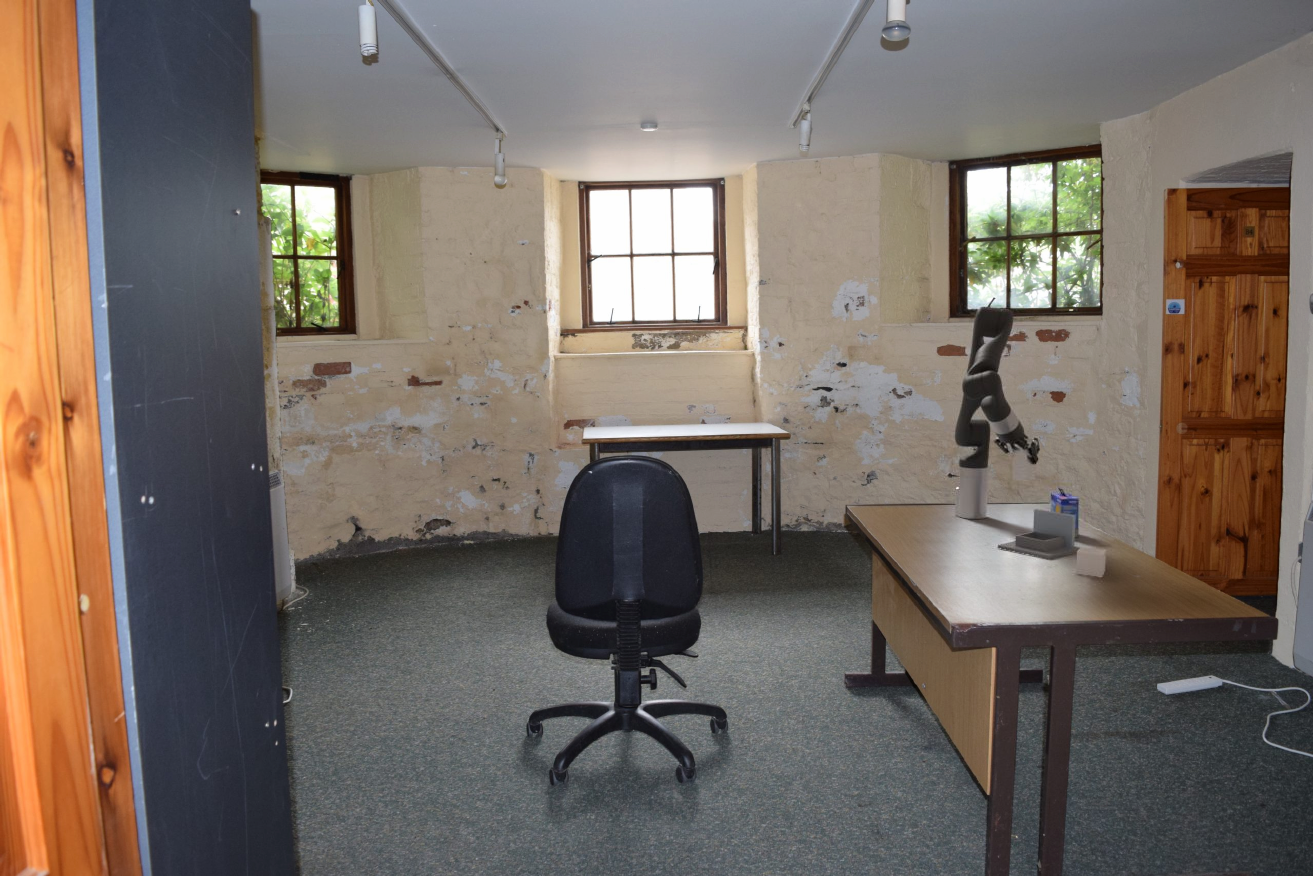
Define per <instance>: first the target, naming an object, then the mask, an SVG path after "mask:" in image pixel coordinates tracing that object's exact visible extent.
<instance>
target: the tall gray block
mask: <svg viewBox="0 0 1313 876" xmlns="http://www.w3.org/2000/svg"><path fill="white" fill-rule="evenodd" d="M1028 451H1029V452H1030V449H1029V450H1028ZM1035 479H1036V465H1035V464H1032V462H1031V460H1030V459H1029V456H1028V455H1027V454H1026V453H1023V452H1022V451H1021V450H1020V449H1018V448H1016V449H1014V457H1013V465H1012V481H1015V482H1017V481H1018V482H1025V483H1028V482H1035V481H1036V480H1035Z"/></svg>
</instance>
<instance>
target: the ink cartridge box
mask: <svg viewBox="0 0 1313 876" xmlns="http://www.w3.org/2000/svg"><path fill="white" fill-rule="evenodd" d="M1057 489H1058V491H1059V492H1051V493H1050V511H1051V512H1057V513H1063V514H1069V515H1075V516H1076V521H1075V537H1077V538H1079V532H1080V531H1079V522H1080V521H1079V519H1080V518H1079V516H1080V515H1079V514H1080V513H1079V510H1080V507H1079V506H1080V505H1079V503H1080V500H1079V498H1078V497H1077V496H1074V495H1072V494H1071V493H1068V492H1065V491H1064V489H1062V488H1060V487H1057Z"/></svg>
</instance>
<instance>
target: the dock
mask: <svg viewBox="0 0 1313 876" xmlns="http://www.w3.org/2000/svg"><path fill="white" fill-rule="evenodd" d="M1075 521H1076V516H1075V515H1069V514H1063V513H1057V512H1051V510H1045V509H1039V508H1037V509H1033V524H1032V525H1033V527H1032V531H1029V532H1025V533H1021V534H1016V535H1015V540H1014V541H1010V542H1006V543H1001V544H998V545H997V549H998V548H1001V549H1000V550H1002V549H1006V550H1005V551H1007V550H1010V551H1009V552H1012V551H1015V552H1014V553H1016V552H1019V553H1018V554H1021V553H1024V554H1023V555H1025V554H1029V555H1028V556H1030V555H1034V556H1033V557H1035V556H1038V557H1037V558H1039V557H1042V558H1041V559H1044V558H1045V560H1048V559H1050V560H1053V559H1057V558H1060V556H1061V557H1065V556H1068V555H1071V554H1075V553H1076V554H1077V551H1078V550H1079V549H1080V547H1081V546H1075V542H1076V541H1075V539H1076V538H1075ZM1064 555H1065V556H1064ZM1056 557H1057V558H1056Z"/></svg>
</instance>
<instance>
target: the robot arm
mask: <svg viewBox="0 0 1313 876" xmlns="http://www.w3.org/2000/svg"><path fill="white" fill-rule="evenodd" d="M1013 325H1014V313H1013V311H1012V310H1010V309H1006V308H1000V307H993V306H980V307H978V309H977V310H976V314H975V317H974V322H973V329H972V330H973V331H972V340H971V349H970V354H969V355H970V357H969V360H968V364H967V365H968V366H967V369H966V373H965V376H964V378H963V380H962V384H961V385H962V386H961V387H962V390H961V391H962V393H963V394H962V395H963V396H962V400H961V406H960V409H959V412H958V413H959V415H958V418H957V421H956V425H955V431H954V441H955V443H956V445H957V446H958V447H963V448H964V447H967V448H971V447H972V448H976V449H975V450H974V451H973V452H971V453H969V454H967V455H963V456H962V457H960V458H959V460H958V487H956V488H955V507H954V508H955V509H954V515H955V516H957V517H960V518H962V519H970V520H971V519H972V520H979V519H986V518H987V508H988V507H987V506H988V505H987V504H988V482H989V481H988V479H989V478H988V477H989V475H988V473H989V471H988V469H989V459H990V454H989V453H990V452H989V451H990V444H991V442H990V441H991V428H992V431H993V432H994V433H995V435H996V436H995V439H994V441H993V443H994V444H995V445H996V446H997V447H998V448H999V449H1001V451H1002V452H1003V453H1005V454H1010V455H1011V456H1012V457H1013V458H1014V449H1016V448H1018V449H1020V450H1021V451H1022V452H1023V453H1026V454H1027V455H1028V456H1029V459H1030V460H1031V462H1032V464H1035V466H1036V465H1037V464H1038V461H1039V459H1040V458H1039V456H1038V454H1039V452H1040V451H1041V448H1040V442H1039V438H1037V437H1034V438H1033V439H1032V438H1029V436H1027V434H1025V428H1024V426H1023V424H1022V422H1021V421H1020V419H1019V418H1018V416H1017V414H1016V413H1015V411H1014V410H1013V408H1011V406H1010V405H1009V403H1008V400H1007V399H1006V397H1005V394H1004V389H1003V383H1002V382H1003V381H1002V379H1001V375H1000V374H999V373H998V372H999V369H1000V363H1001V358H1002V355H1003V352H1004V351H1005V348H1006V347H1007V344H1008V341H1009V338H1010V335H1011V333H1012V331H1013ZM984 338H991V339H990V340H989V341H988V342H986V343H985V339H984ZM980 408H981V411H982V412H983V414H984V416H985V417H986V418H987V419H972V418H973V416H974V414H975V413H976V411H978V409H980ZM1029 449H1030V452H1029V451H1028V450H1029Z"/></svg>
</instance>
